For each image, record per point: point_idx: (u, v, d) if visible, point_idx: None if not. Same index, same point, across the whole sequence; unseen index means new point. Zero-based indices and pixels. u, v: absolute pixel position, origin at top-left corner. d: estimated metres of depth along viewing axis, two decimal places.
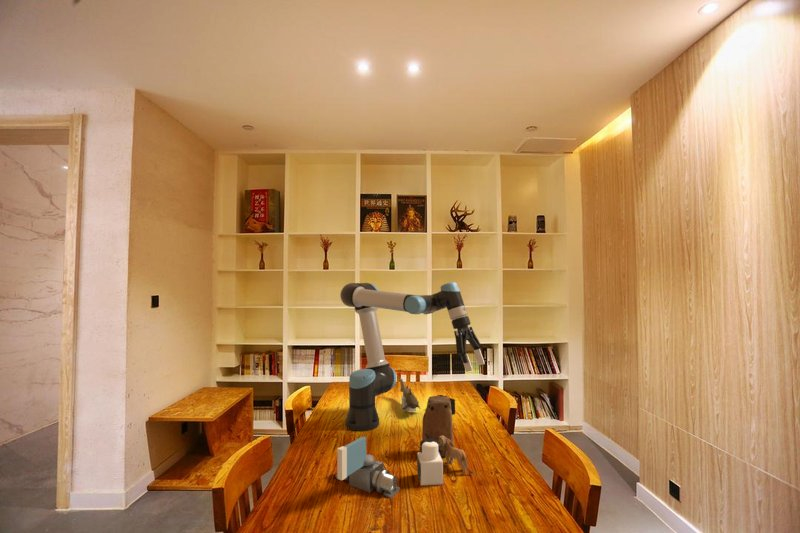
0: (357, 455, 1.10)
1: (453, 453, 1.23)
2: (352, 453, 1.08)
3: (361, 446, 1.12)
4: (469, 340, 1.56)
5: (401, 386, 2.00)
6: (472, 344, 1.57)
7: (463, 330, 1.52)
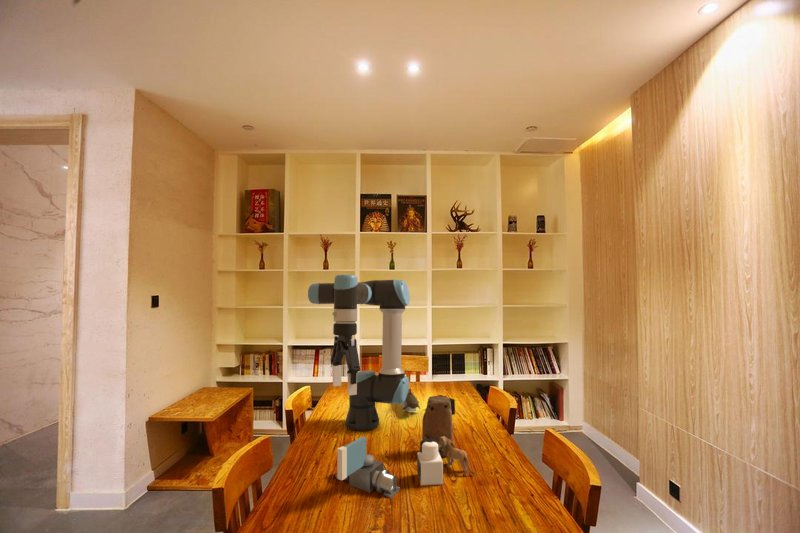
0: (357, 455, 1.10)
1: (454, 454, 1.23)
2: (352, 453, 1.08)
3: (361, 446, 1.12)
4: None
5: None
6: None
7: (339, 339, 1.20)
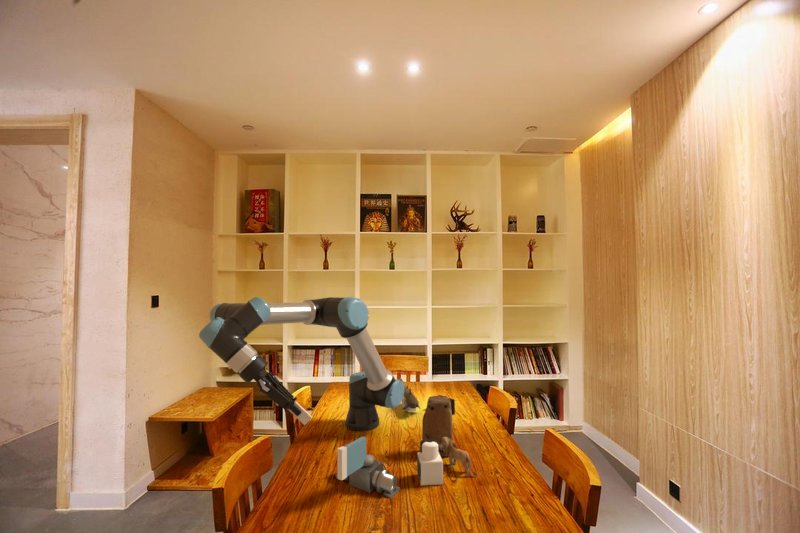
0: (357, 455, 1.10)
1: (456, 454, 1.22)
2: (352, 453, 1.08)
3: (361, 446, 1.12)
4: None
5: None
6: None
7: None
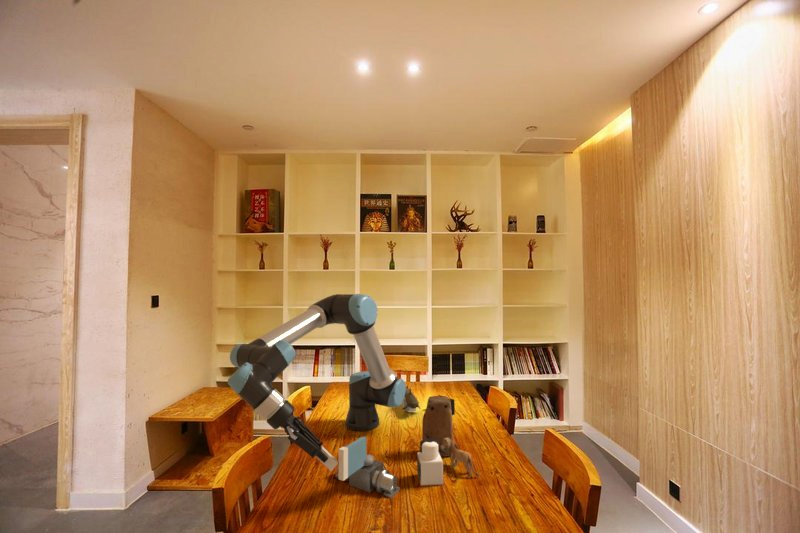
0: (358, 455, 1.10)
1: (458, 455, 1.22)
2: (353, 453, 1.08)
3: (361, 446, 1.12)
4: None
5: None
6: None
7: None
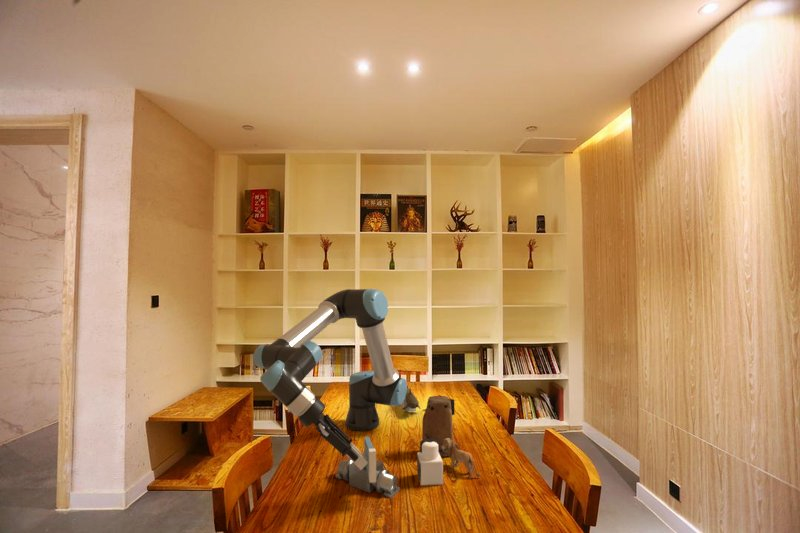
0: None
1: (459, 456, 1.21)
2: None
3: None
4: None
5: None
6: None
7: None
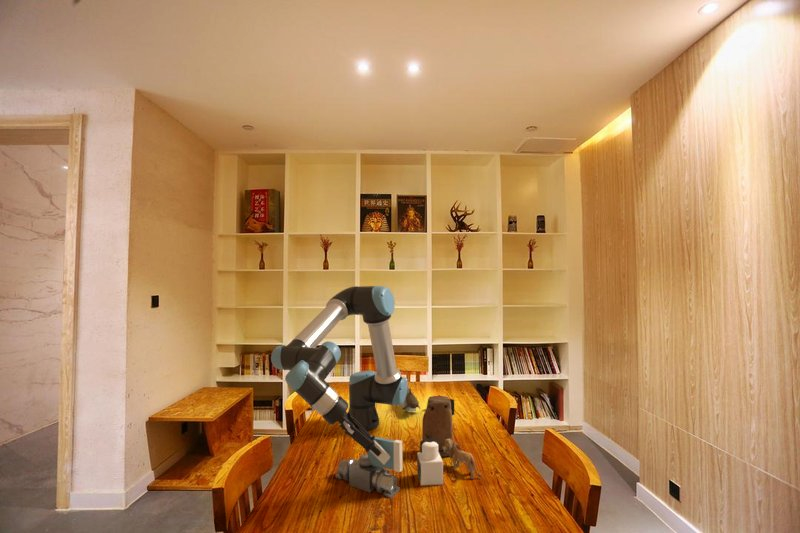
0: None
1: (460, 456, 1.21)
2: None
3: None
4: None
5: None
6: None
7: None
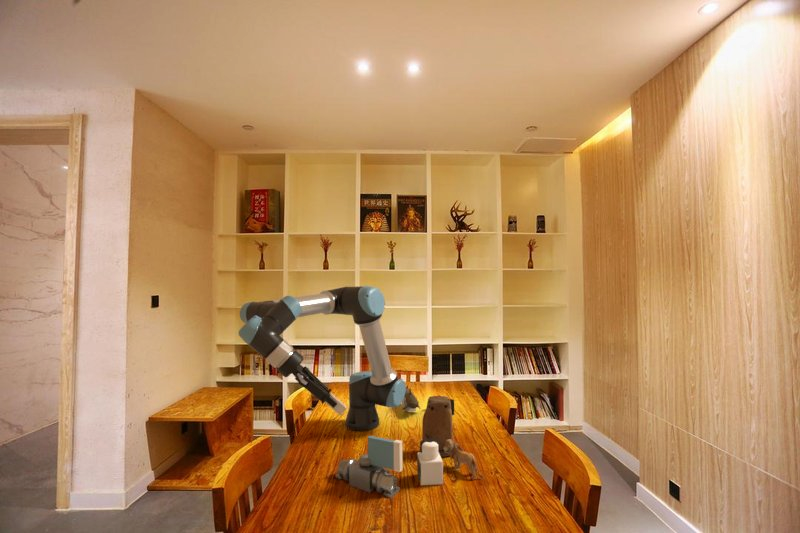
0: None
1: (462, 457, 1.20)
2: None
3: None
4: None
5: None
6: None
7: None
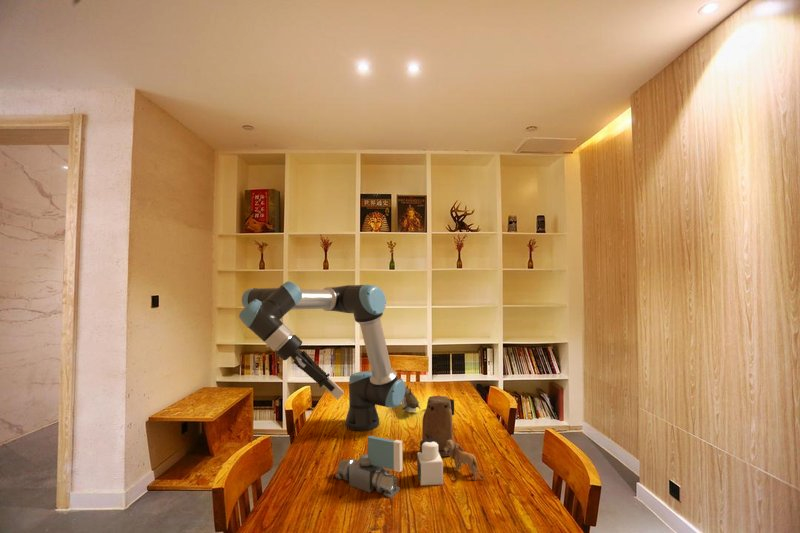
0: None
1: (462, 457, 1.20)
2: None
3: None
4: None
5: None
6: None
7: None
